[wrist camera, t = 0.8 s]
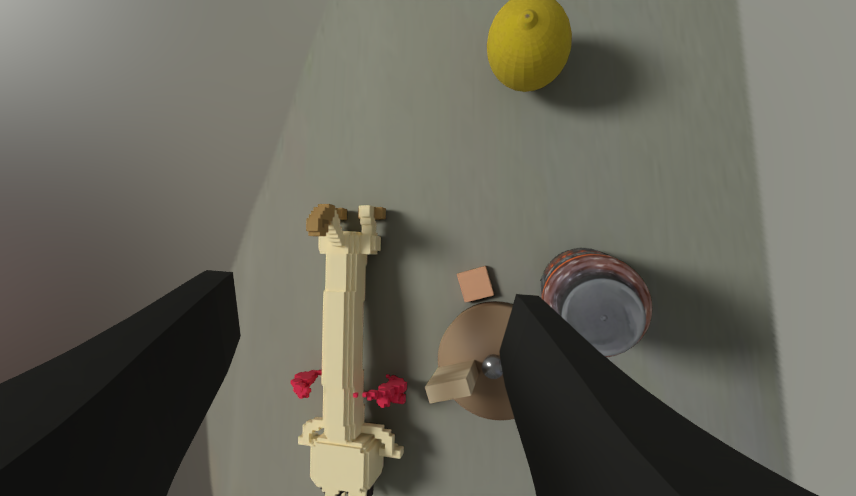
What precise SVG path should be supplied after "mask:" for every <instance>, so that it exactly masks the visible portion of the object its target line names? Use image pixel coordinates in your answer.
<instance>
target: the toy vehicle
mask: <svg viewBox="0 0 856 496" xmlns="http://www.w3.org/2000/svg"><path fill="white" fill-rule="evenodd" d="M358 218H359V219H360V225H362V233H361V232H351V231H342V227H340V220H347V209H344V208H335V206H334V205H331V204H318V207H314V211H311V215H309V218H307V223H306V231H309V236H319V250H320V254H326V285H325V291H324V293H323V341H322V370H318V371H317V370H311V371H309V372H306V371H305V372H300V373H298V374H295V379H293V380H291V384H292V386H293V387H294V390H293V391H294V392H296V394H298V397H299V398H301V399H302V398H308V397H309V393H310V392H311V388H309V387H310V385H311V384H312V383H314V381H315V380H316V378H317V377H318V375H322V385H323V417H315V418H314V419H312V420H311V419H310V420H308V421H307V422H306V423H305V424H304V425H303V434H302V435H300V436H299V437H298V444H301V445H308V446H311V459H310V478H311V480H313V482H315V485H317V487H321V489H322V492H324V493H325V496H340V495H341V494H342V495H341V496H345V495H346V492H347V494H348V496H372V495H373V484H374V483H375V481H376V480H377V478H378V477H379V476H380V474H381V473H382V468H383V459H384V457H391V458H398V459H400V458H401V457H402V455H403V454H404V446H398V444H396V443H395V434H393V433H391V430H390V429H384V425H380V424H372V423H364V411H365V404H363V397H367V400H372V399H377V398H378V399H377V403H378V406H380V407H381V408H384V407H385V406H386V407H389V406H390V402H393V403H398V404H404V403H405V402H406V394H403V393H404V392H405V391H406V390H407V382H405V381H403V378H398V377H396V375H392V376H391V377H390V375H388V374H386V378H389V382H387V383H382V384H381V385H380V386H378V390H369V391H368V392H363V385H364V369H362V359H363V302H364V301H365V271H366V265H367V254H377V251H381V237H380V236H377V233H376V222H375V220H381V219H386V208H383V207H373V206H370V205H365V206H359V210H358ZM321 428H324V433H323V434H321V435H318V433H314V432H315V431H319V430H320V429H321ZM384 443H385V444H384Z"/></svg>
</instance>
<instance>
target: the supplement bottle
mask: <svg viewBox="0 0 856 496" xmlns="http://www.w3.org/2000/svg"><path fill="white" fill-rule="evenodd" d="M540 281H541V298H542V299H543V300H544V301H545V302H546V303H547V304H548V305H550V306H551V307H552V308H553V309H554V310H555V311H556V312H557V313H558V314H559V315H560V316H561V317H562V318H564V319H565V320H566V321H567V322H568V323H569V324H570V325H571V326H572V327H573V328H574V329H575V330H576V331H577V332H578V333H580V334H581V335H582V336H583V337H584V338H585V339H586V340H587V341H588V342H589V343H590V344H592V345H593V346H594V347H595V348H596V349H597V350H598V351H599V352H601V353H602V354H603V355H604V356H605V357H611V356H615V355H618V354H621V353H623V352H625V351H627V350H629V349H630V348H632V347H633V346H634V345H635V344H637V343H638V342H639V341H640V340H641V338H642V337H643V336H644V334H645V333H646V331H647V329H648V327H649V324H650V321H651V316H652V300H651V296H650V293H649V290H648V287H647V286H646V284H645V282H644V280H643V279H642V278H641V277H640V275H639V274H638V273H637V272H636V271H635V270H634V269H632V268H631V267H630V266H628V265H627V264H625V263H624V262H622V261H620V260H618V259H616V258H613V257H611V256H609V255H607V254H605V253H602V252H600V251H597V250H593V249H587V248H576V249H571V250H567V251H565V252H562V253H561V254H559V255H558V256H556V257H555V258H554V259H553V260H552V261H551V262H550V263H549V264H548V266H547V267H546V269H545V270H544V273H543V275H542V279H541V280H540Z"/></svg>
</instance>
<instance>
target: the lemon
mask: <svg viewBox="0 0 856 496" xmlns="http://www.w3.org/2000/svg"><path fill="white" fill-rule="evenodd" d="M571 40H572V32H571V27H570V23H569V19H568V17H567V15H566V13H565V11H564V9H563V8H562V6H561V5H560V4H559V3H558V2H557V1H556V0H510V1H509V2H507V3H506V4H505V5H504V6H503V7H502V8H501V9H500V11H499V12H498V14H497V15H496V16H495V18H494V20H493V23H492V25H491V27H490V30H489V35H488V41H487V53H488V60H489V63H490V66H491V69H492V71H493V73H494V74H495V76H496V77H497V78H498V80H499V81H500V82H502V83H503V84H504V85H505V86H507V87H509V88H511V89H513V90H516V91H523V92H527V91H534V90H537V89H540V88H543V87H544V86H546V85H547V84H549V83H550V82H552V81H553V80H554V79H555V78H556V77H557V76H558V75H559V74H560V72H561V71H562V69H563V67H564V66H565V64H566V62H567V60H568V57H569V53H570V50H571Z"/></svg>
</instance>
